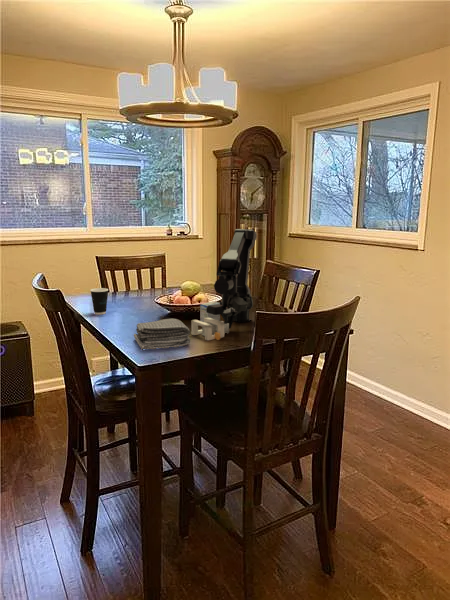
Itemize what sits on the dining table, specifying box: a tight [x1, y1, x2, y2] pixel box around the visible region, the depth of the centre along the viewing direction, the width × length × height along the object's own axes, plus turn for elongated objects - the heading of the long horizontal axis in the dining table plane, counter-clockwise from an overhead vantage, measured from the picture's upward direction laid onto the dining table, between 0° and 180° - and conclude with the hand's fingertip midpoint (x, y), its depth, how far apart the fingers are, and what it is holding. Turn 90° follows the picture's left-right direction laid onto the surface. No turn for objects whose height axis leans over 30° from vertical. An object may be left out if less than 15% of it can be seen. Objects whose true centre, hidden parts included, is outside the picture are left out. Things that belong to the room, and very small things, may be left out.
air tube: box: [201, 320, 230, 337], centre depth 175 cm, size 10×4×4 cm, turn 130°
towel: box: [133, 318, 191, 350], centre depth 164 cm, size 15×18×8 cm
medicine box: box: [199, 301, 221, 322], centre depth 191 cm, size 8×4×9 cm, turn 141°
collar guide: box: [190, 317, 225, 341], centre depth 172 cm, size 8×12×6 cm
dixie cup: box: [89, 287, 109, 316], centre depth 205 cm, size 8×8×11 cm
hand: (229, 328), depth 180 cm, fingers closed
